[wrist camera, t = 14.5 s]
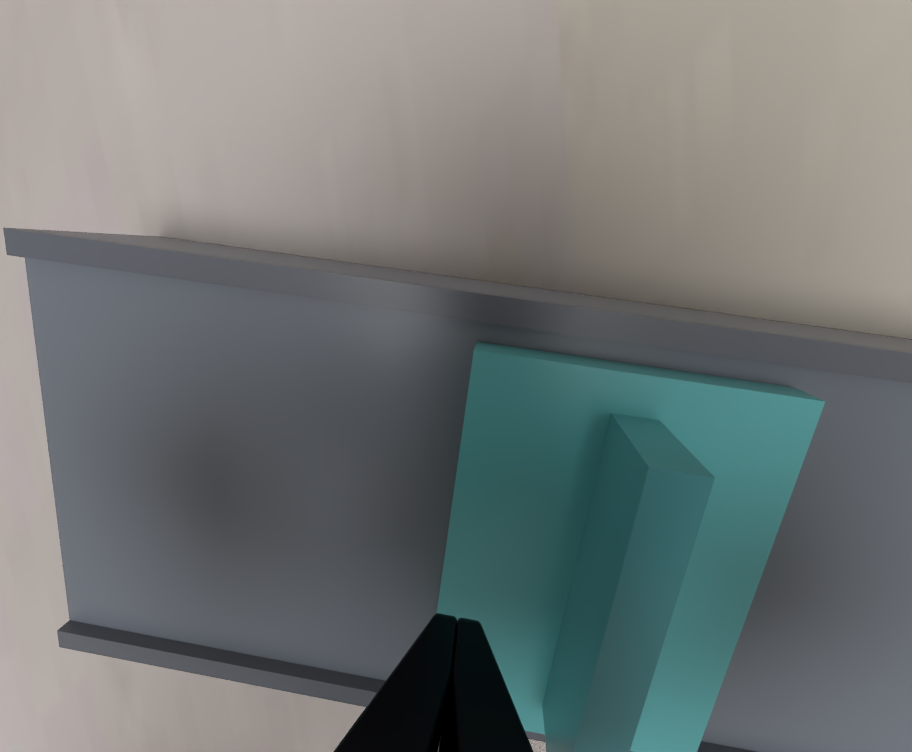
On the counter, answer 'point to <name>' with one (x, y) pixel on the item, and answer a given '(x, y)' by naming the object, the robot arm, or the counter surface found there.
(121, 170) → the counter surface
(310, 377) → the housing
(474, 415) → the lid
